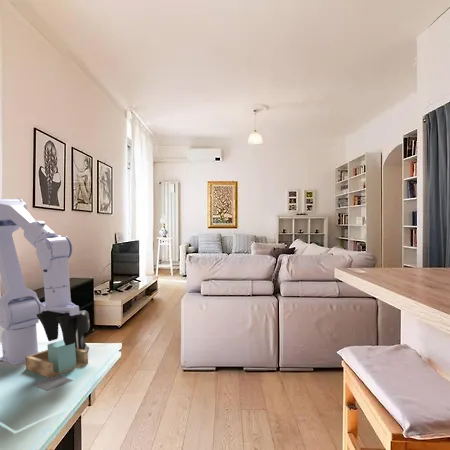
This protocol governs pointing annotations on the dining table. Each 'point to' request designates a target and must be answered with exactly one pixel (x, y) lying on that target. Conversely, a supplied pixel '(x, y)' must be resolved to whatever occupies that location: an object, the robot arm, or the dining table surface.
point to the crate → (45, 368)
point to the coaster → (53, 382)
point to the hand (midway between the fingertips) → (61, 342)
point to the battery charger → (82, 331)
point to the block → (62, 356)
